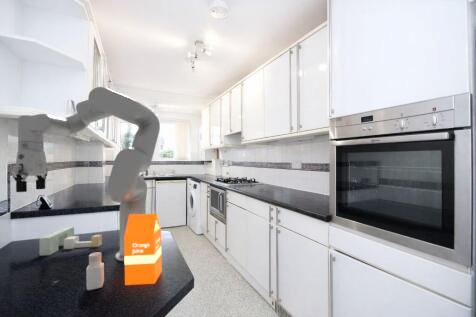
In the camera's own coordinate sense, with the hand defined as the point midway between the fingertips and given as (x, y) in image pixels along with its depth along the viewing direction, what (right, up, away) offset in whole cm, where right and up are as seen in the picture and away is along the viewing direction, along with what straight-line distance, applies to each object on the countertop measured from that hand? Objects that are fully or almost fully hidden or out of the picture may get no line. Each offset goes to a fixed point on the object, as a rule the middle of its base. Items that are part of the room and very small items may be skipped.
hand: (31, 190), depth 90 cm
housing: (+2, -27, +10) cm, 29 cm away
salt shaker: (+40, -25, -23) cm, 52 cm away
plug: (+13, -27, +11) cm, 32 cm away
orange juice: (+52, -25, -19) cm, 61 cm away
